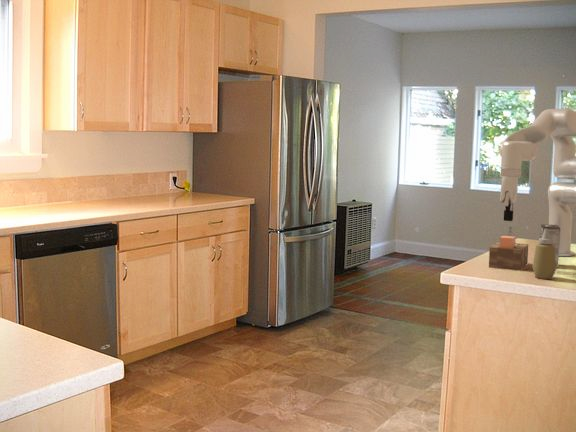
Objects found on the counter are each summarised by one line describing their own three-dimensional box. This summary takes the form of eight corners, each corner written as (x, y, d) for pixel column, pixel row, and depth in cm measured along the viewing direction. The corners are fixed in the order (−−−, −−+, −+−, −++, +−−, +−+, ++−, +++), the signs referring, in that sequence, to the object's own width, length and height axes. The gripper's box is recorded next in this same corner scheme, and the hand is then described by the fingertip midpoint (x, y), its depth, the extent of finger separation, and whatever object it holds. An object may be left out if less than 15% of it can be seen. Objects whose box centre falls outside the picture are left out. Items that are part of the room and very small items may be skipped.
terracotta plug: (501, 250, 286) (502, 235, 285) (514, 251, 284) (515, 236, 283) (499, 252, 282) (500, 237, 281) (512, 253, 279) (513, 238, 279)
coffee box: (538, 263, 293) (540, 224, 291) (555, 263, 292) (557, 224, 290) (541, 267, 284) (543, 226, 283) (558, 268, 283) (561, 227, 281)
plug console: (497, 261, 297) (497, 241, 296) (527, 263, 291) (528, 244, 290) (488, 267, 283) (489, 247, 282) (520, 270, 277) (521, 249, 276)
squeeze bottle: (529, 275, 267) (531, 227, 265) (551, 275, 267) (553, 227, 265) (535, 279, 259) (538, 230, 257) (558, 280, 259) (561, 230, 257)
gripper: (504, 172, 288) (502, 218, 289) (496, 173, 274) (494, 221, 276) (524, 173, 284) (521, 219, 286) (517, 174, 271) (514, 223, 273)
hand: (508, 220), depth 281 cm, fingers closed
